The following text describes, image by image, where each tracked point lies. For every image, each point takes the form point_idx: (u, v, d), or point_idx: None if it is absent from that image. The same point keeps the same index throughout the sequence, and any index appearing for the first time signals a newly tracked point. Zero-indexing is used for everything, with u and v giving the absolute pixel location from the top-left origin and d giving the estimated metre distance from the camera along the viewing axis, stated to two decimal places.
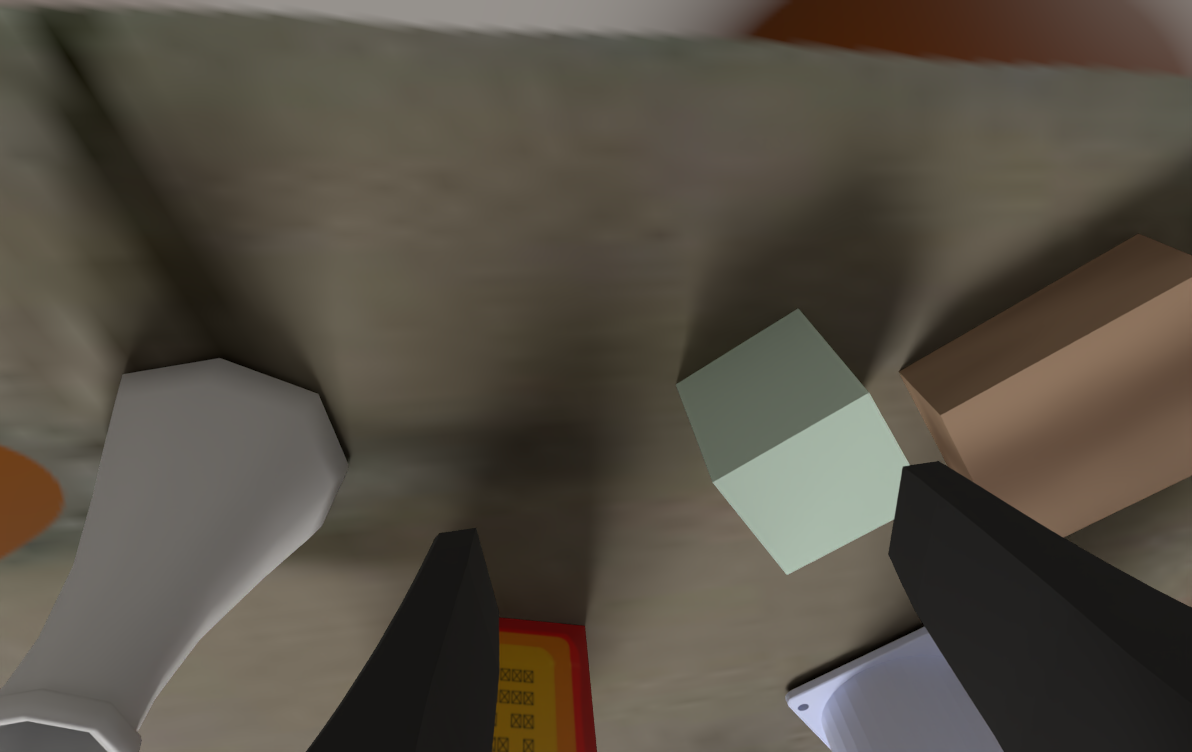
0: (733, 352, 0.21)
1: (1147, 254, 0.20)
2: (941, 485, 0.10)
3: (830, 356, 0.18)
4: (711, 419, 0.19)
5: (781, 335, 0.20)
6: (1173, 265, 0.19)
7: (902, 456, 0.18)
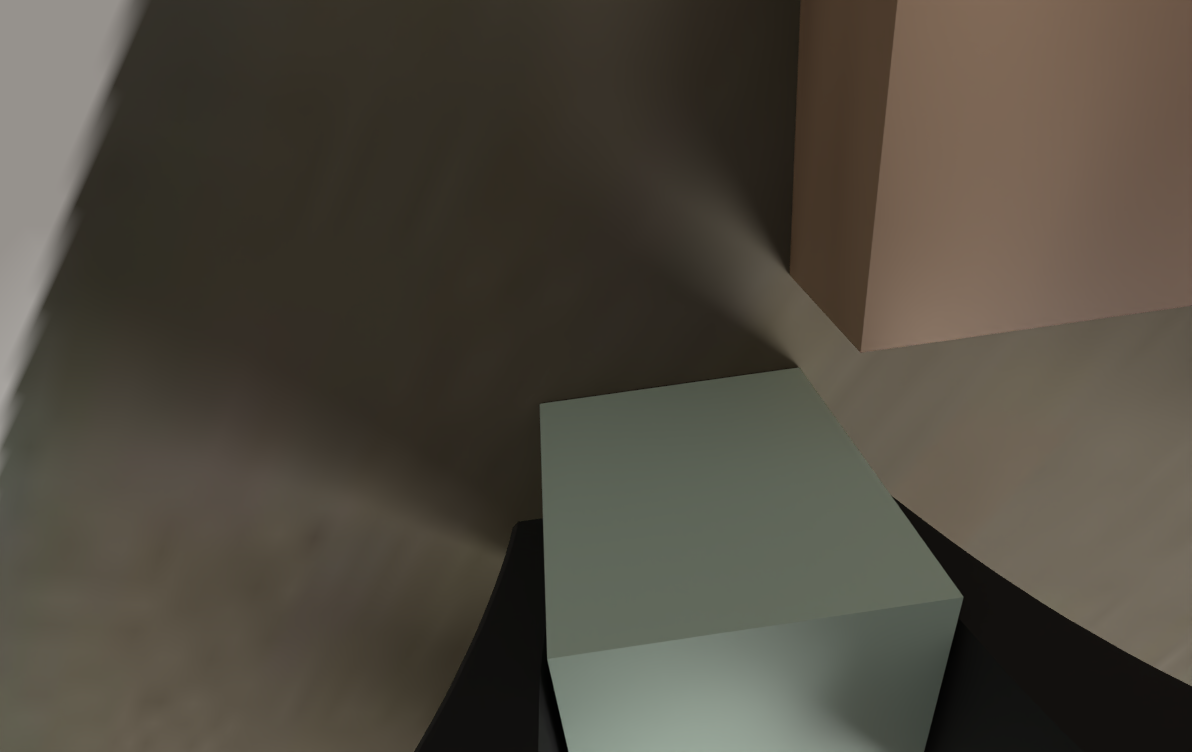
0: None
1: None
2: None
3: None
4: None
5: None
6: None
7: (778, 627, 0.07)
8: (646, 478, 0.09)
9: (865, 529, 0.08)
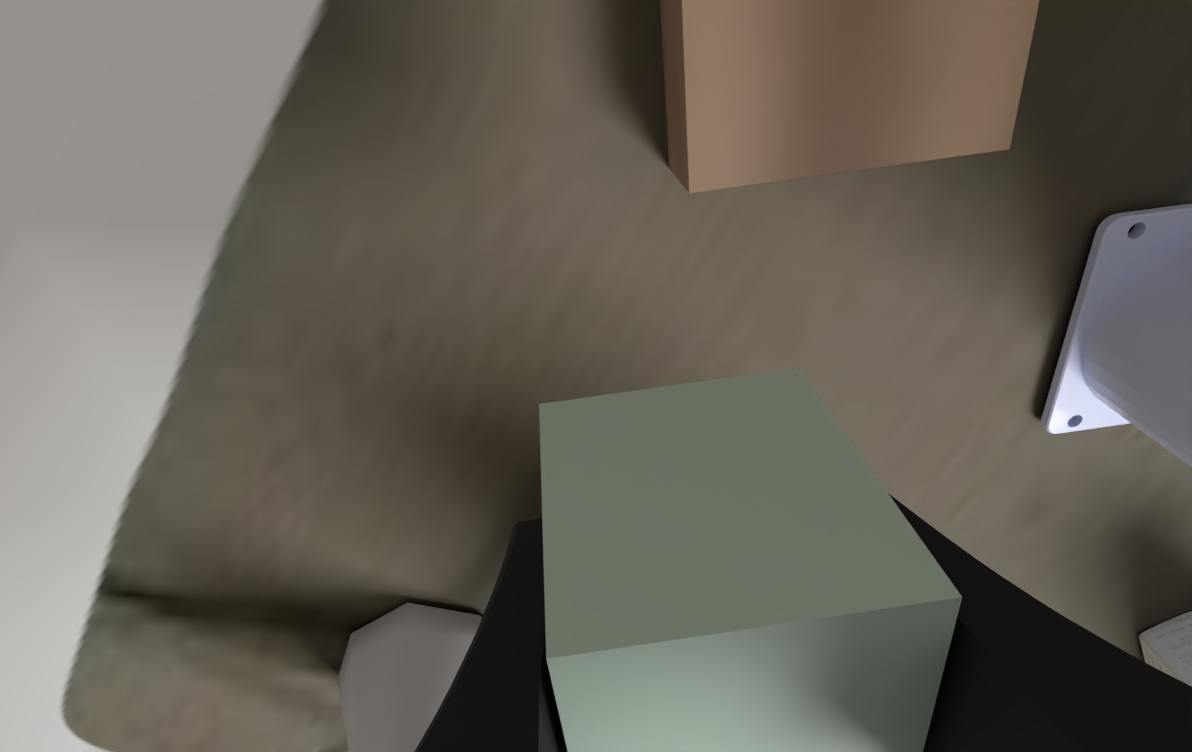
0: None
1: None
2: None
3: None
4: None
5: None
6: None
7: (777, 627, 0.07)
8: (645, 478, 0.09)
9: (864, 529, 0.08)
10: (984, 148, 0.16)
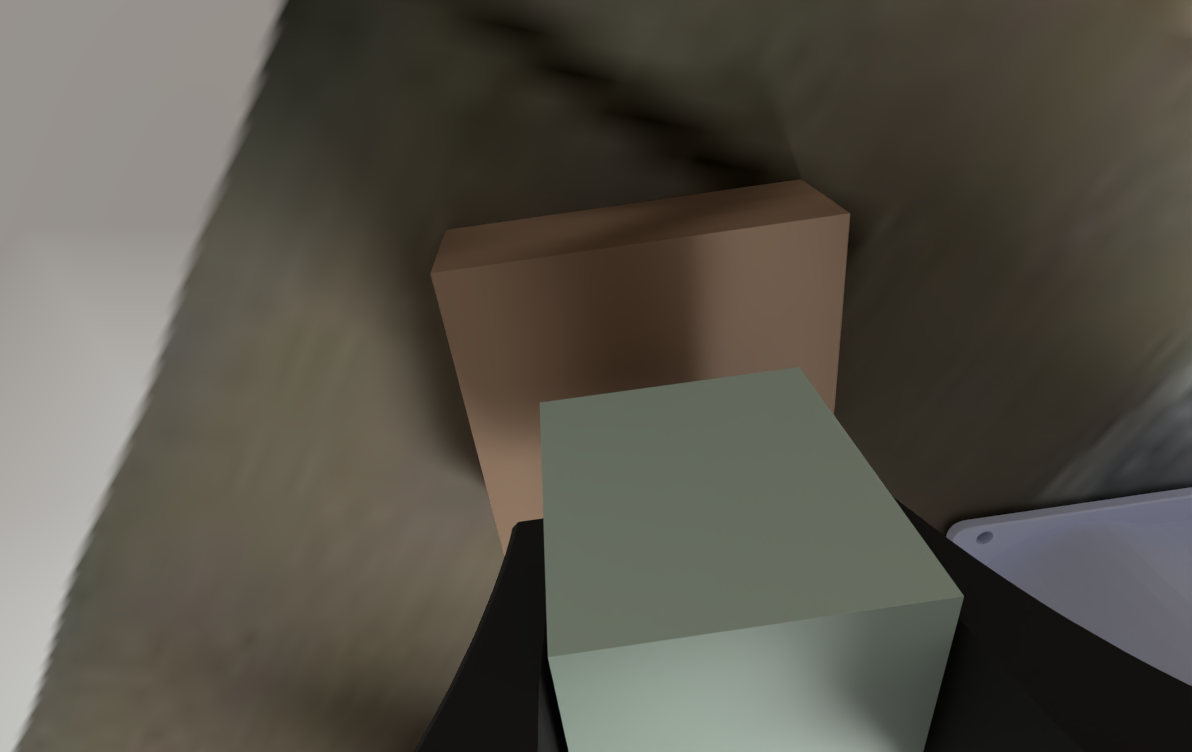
0: None
1: None
2: None
3: None
4: None
5: None
6: None
7: (779, 626, 0.07)
8: (647, 476, 0.09)
9: (866, 528, 0.08)
10: None
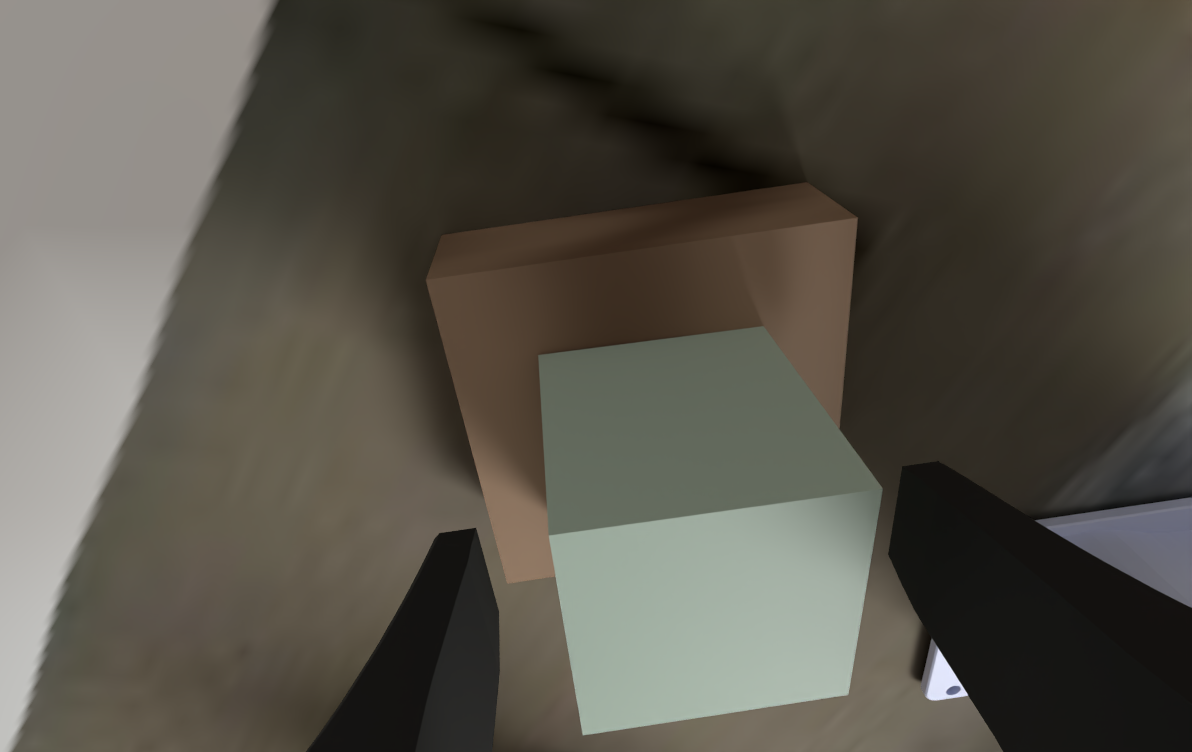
0: None
1: None
2: (941, 485, 0.10)
3: None
4: None
5: None
6: None
7: (735, 512, 0.09)
8: (630, 409, 0.11)
9: (809, 444, 0.10)
10: None
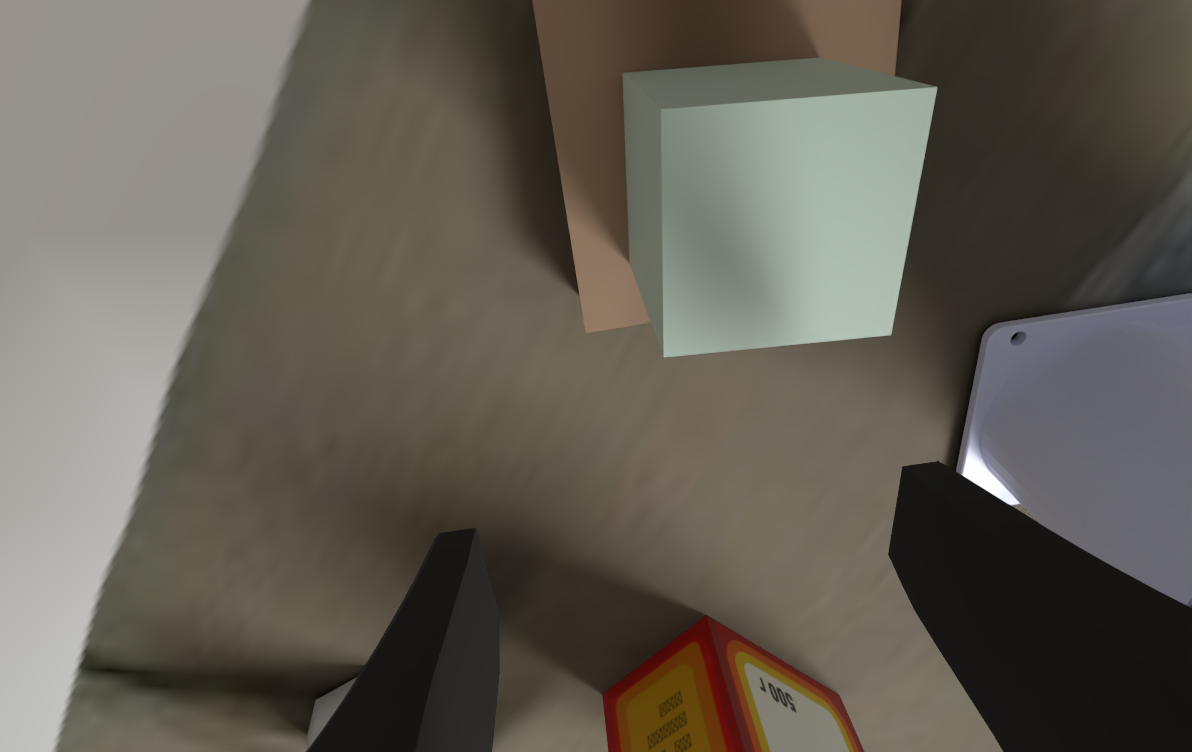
0: (627, 183, 0.16)
1: None
2: (941, 485, 0.10)
3: (642, 100, 0.12)
4: (644, 280, 0.14)
5: (628, 121, 0.14)
6: None
7: (814, 100, 0.11)
8: (712, 81, 0.13)
9: (872, 80, 0.12)
10: None
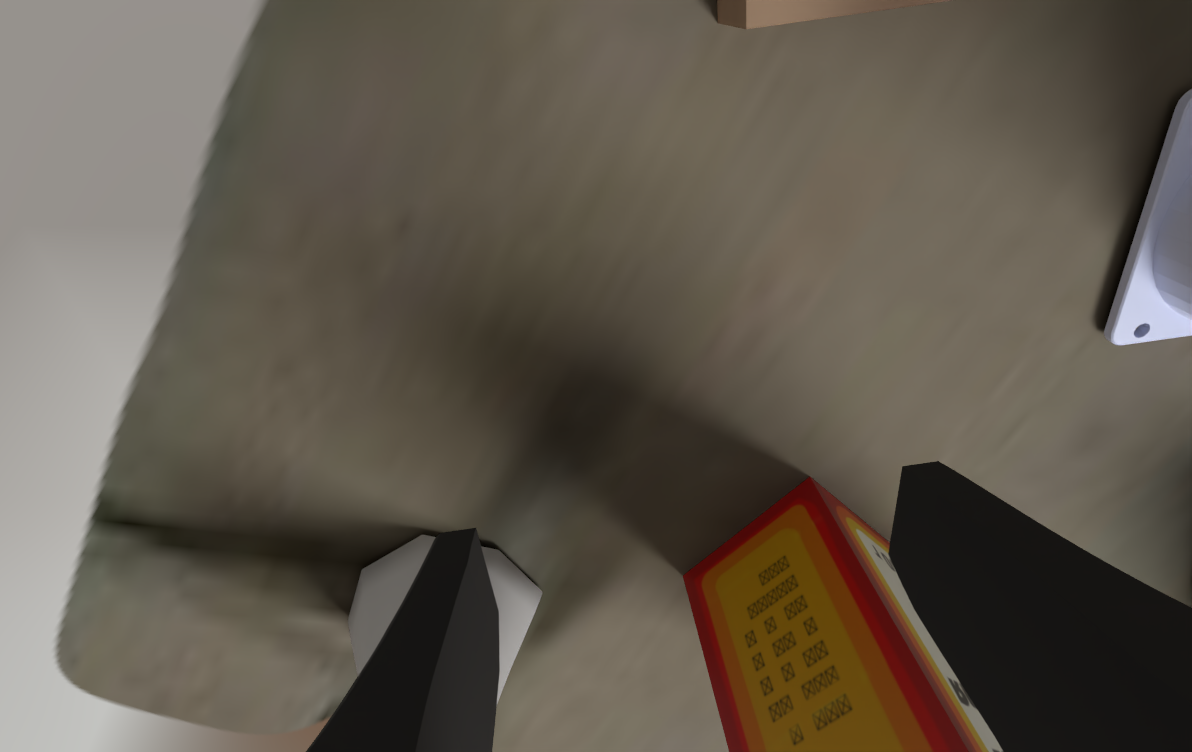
0: None
1: None
2: (941, 485, 0.10)
3: None
4: None
5: None
6: None
7: None
8: None
9: None
10: None
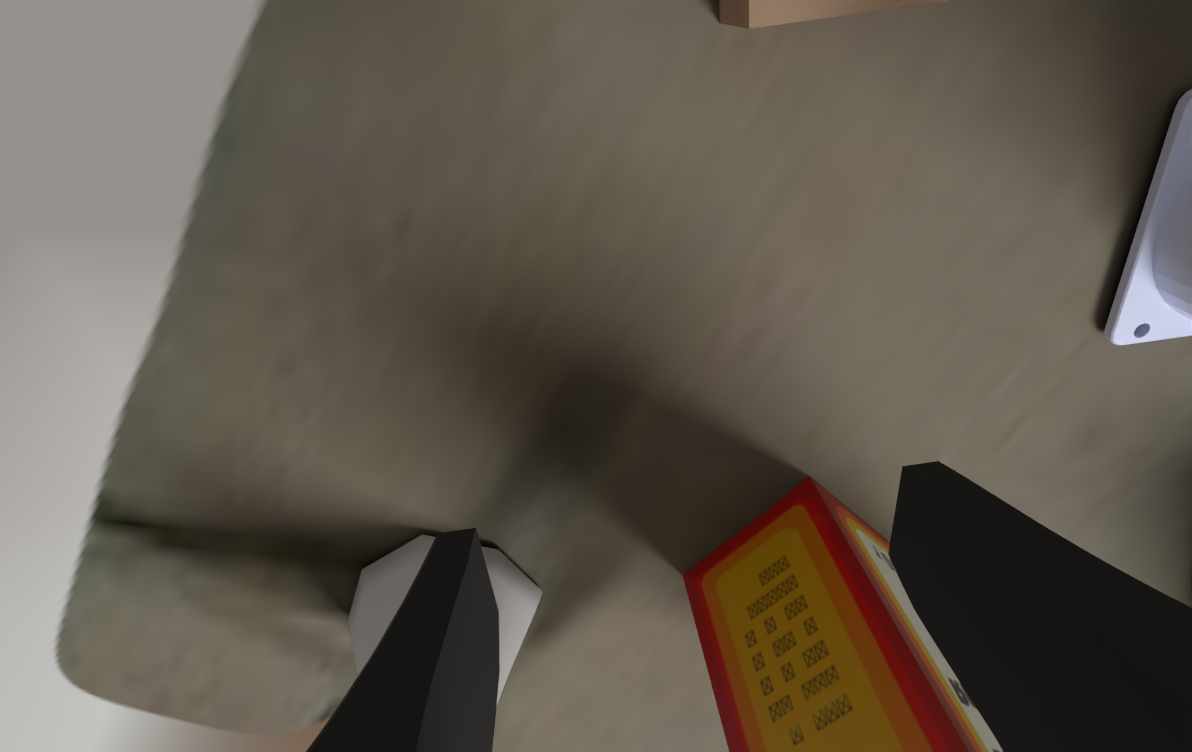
0: None
1: None
2: (941, 485, 0.10)
3: None
4: None
5: None
6: None
7: None
8: None
9: None
10: None
